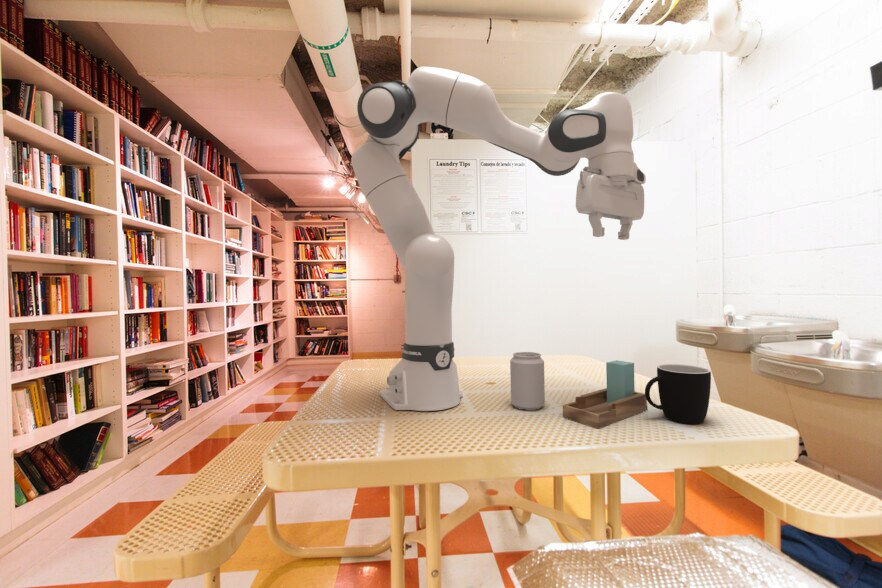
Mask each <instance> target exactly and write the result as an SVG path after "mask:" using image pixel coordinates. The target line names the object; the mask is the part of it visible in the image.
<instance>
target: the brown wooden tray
mask: <svg viewBox="0 0 882 588" xmlns="http://www.w3.org/2000/svg"><path fill="white" fill-rule="evenodd" d="M574 400H575V401H572V402H569V403H565V404H563V405H562V418H563V417H566V418H568V419H567V420H569V419H571V420H570V421H572V420H574V421H573V422H575V423H576V422H577V423H579V424H582V425H585V426H588V427H591V428H595V429H597V430H600V429H602V428H605V427H607V426H610V425H613V424H615V423H617V421H618V422H620V421H623V420H625V418H626V419H628V418H631V417H633V416H636V415H639V414H641V413H643V411H644V412H646V410H647V411H648V401H647V399H646V397H645V392H644V393H643V392H638V391H635V395H633V396H629V397H626V398H623V399H620V400H617V401H614V402H611V403H609V404H607V387H606V388H602V389H599V390H594V391H591V392H588V393H584V394H580V396H575V399H574ZM638 413H639V414H638ZM635 414H636V415H635ZM632 415H633V416H632ZM630 416H631V417H630ZM566 418H565V419H566Z"/></svg>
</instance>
